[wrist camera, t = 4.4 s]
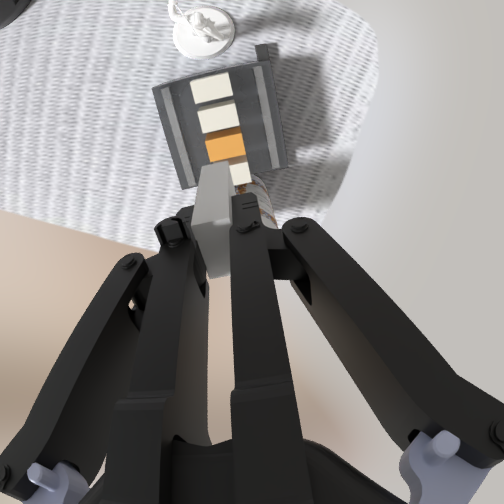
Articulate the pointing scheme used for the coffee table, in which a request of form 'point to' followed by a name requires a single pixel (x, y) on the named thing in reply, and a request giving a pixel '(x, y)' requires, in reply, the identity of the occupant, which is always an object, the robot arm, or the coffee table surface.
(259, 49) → the dark grey slat
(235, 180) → the cream small block
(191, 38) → the figurine
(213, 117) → the paddle
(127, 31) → the coffee table surface
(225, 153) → the paddle
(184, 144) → the breaker panel
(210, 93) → the cream rectangular block
